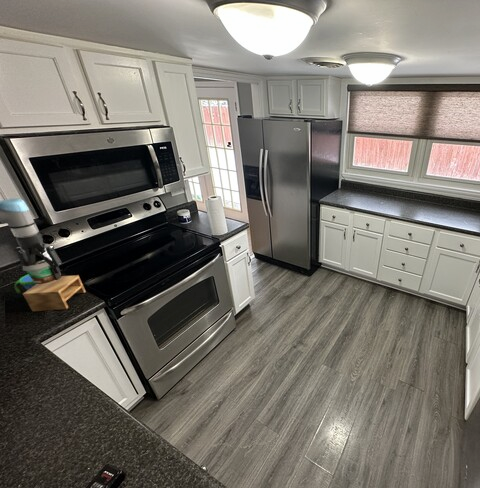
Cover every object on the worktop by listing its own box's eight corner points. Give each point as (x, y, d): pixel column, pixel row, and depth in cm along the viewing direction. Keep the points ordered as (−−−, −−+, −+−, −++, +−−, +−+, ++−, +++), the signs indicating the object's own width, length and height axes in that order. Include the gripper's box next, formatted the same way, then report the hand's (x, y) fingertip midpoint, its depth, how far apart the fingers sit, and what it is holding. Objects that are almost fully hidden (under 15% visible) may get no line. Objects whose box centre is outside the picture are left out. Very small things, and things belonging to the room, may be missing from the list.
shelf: (32, 311, 122) (22, 293, 118) (54, 293, 135) (46, 277, 130) (66, 308, 124) (58, 291, 120) (85, 291, 137) (78, 275, 133)
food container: (41, 287, 118) (30, 268, 114) (31, 285, 120) (20, 266, 115) (71, 273, 129) (62, 255, 125) (62, 271, 130) (53, 254, 126)
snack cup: (17, 303, 127) (6, 285, 123) (25, 291, 135) (16, 275, 131) (60, 294, 134) (51, 277, 130) (65, 284, 142) (58, 267, 138)
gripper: (59, 230, 119) (78, 273, 129) (8, 232, 116) (32, 276, 126) (46, 237, 112) (67, 282, 122) (-8, 239, 109) (18, 285, 119)
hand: (49, 279), depth 124 cm, fingers closed on food container, 7 cm apart
